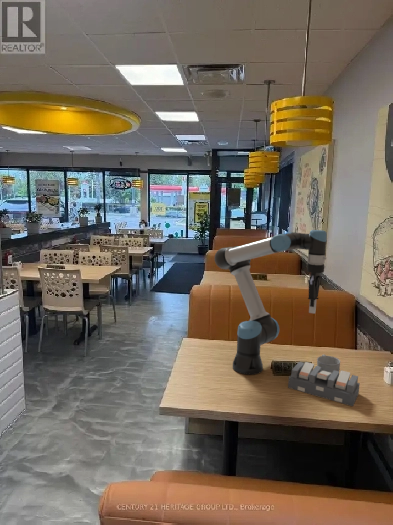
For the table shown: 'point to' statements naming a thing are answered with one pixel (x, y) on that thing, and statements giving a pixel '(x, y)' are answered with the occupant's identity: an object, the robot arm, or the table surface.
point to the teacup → (328, 363)
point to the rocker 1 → (306, 370)
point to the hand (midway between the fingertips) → (312, 312)
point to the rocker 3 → (342, 380)
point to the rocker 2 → (323, 375)
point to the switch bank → (324, 385)
